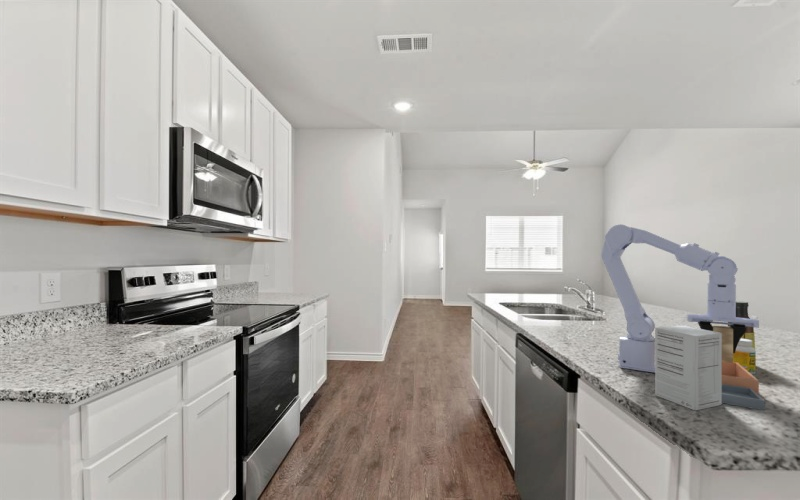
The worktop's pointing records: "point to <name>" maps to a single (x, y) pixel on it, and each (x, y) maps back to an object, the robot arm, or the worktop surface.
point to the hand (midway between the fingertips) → (720, 350)
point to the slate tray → (742, 397)
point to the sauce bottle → (743, 313)
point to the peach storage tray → (738, 376)
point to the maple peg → (726, 342)
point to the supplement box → (688, 366)
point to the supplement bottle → (745, 355)
